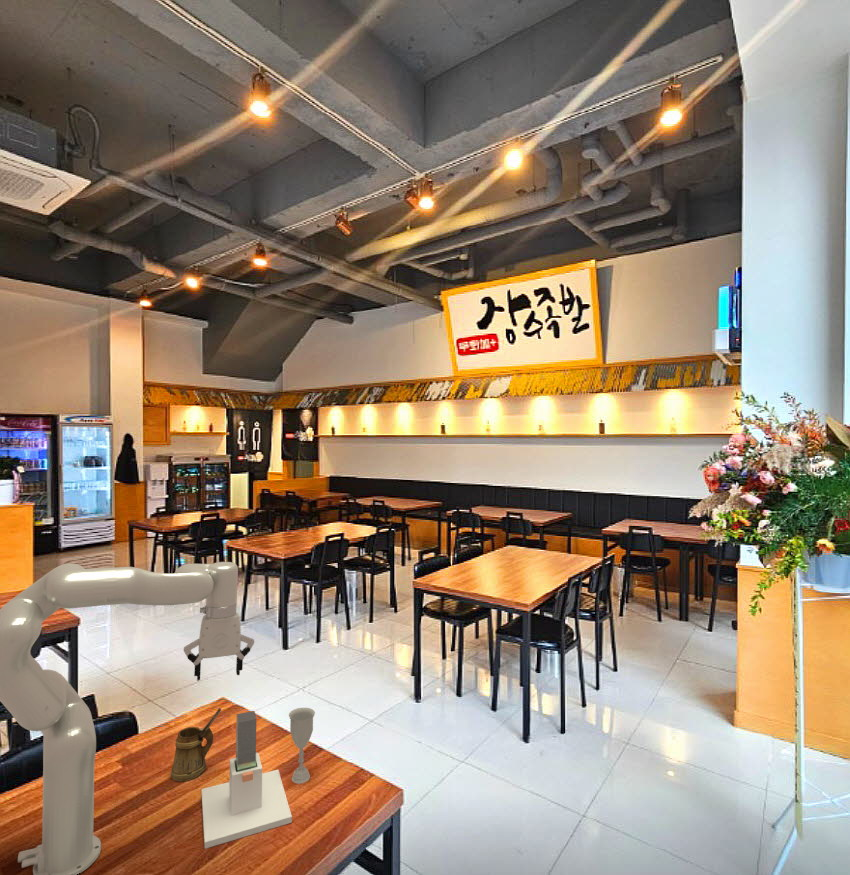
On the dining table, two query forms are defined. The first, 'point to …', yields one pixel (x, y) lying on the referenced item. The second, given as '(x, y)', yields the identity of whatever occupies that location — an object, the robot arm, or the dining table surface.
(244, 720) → the column
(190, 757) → the wooden mug
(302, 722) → the chalice
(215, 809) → the stand
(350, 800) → the dining table surface
